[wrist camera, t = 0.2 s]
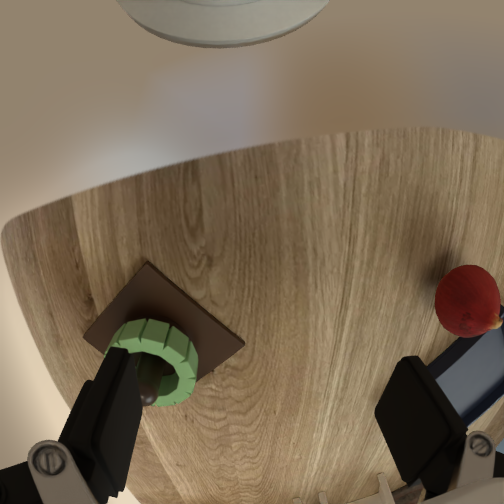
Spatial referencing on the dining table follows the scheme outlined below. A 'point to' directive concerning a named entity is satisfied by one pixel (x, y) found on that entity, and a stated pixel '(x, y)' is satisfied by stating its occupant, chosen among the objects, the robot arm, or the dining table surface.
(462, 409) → the tray
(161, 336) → the ring
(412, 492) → the lantern
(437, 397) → the robot arm
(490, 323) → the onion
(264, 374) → the dining table surface
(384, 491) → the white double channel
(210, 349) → the stand
